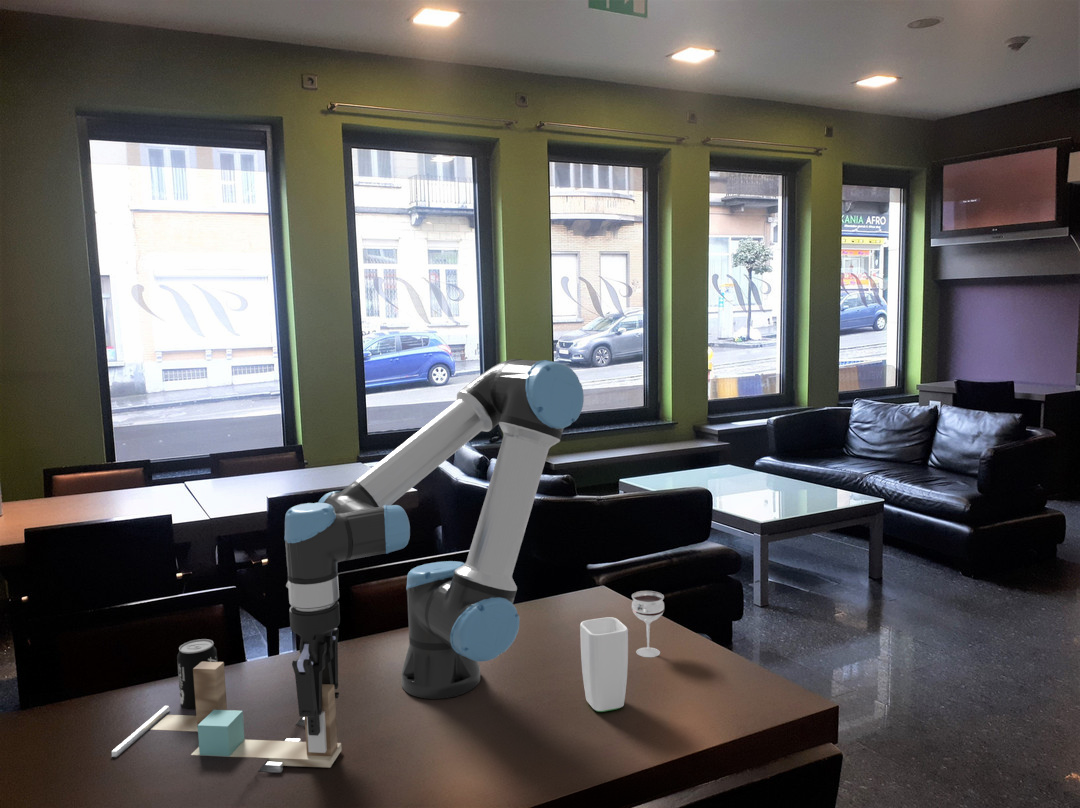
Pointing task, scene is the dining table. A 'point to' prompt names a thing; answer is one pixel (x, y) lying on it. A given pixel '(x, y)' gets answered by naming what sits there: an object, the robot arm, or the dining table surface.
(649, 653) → the wineglass
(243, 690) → the dining table surface
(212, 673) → the strip short
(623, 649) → the cup
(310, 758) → the strip long
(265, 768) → the lane rails
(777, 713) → the dining table surface
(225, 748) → the cube
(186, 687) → the beverage can
